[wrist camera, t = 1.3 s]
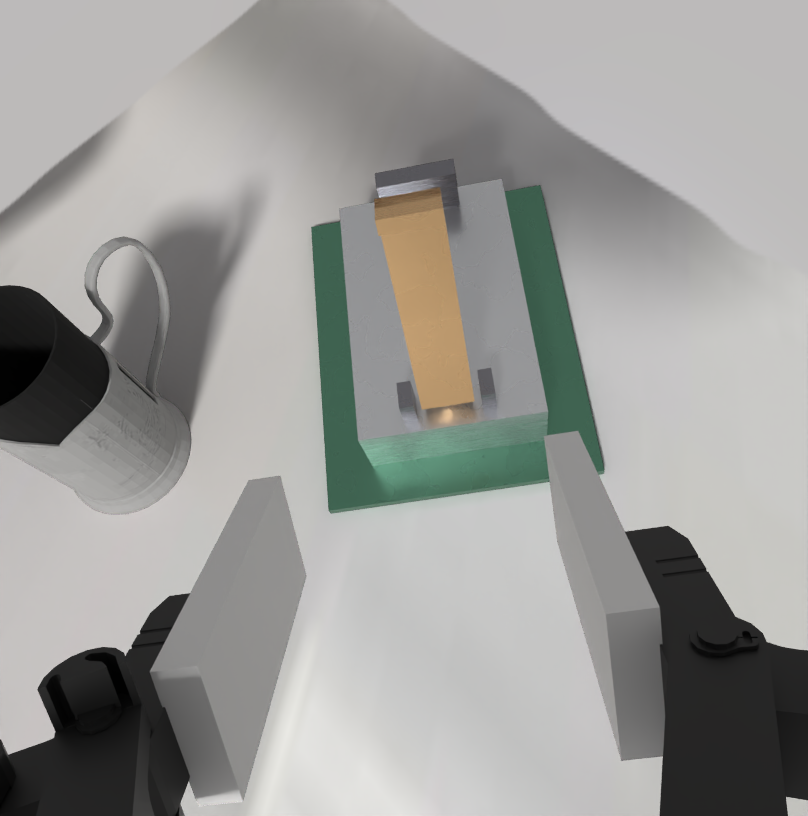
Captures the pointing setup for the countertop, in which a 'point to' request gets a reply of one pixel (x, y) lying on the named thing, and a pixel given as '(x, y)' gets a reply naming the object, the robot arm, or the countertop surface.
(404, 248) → the tan rectangular bar
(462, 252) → the green base fixture
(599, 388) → the countertop surface
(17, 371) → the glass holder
